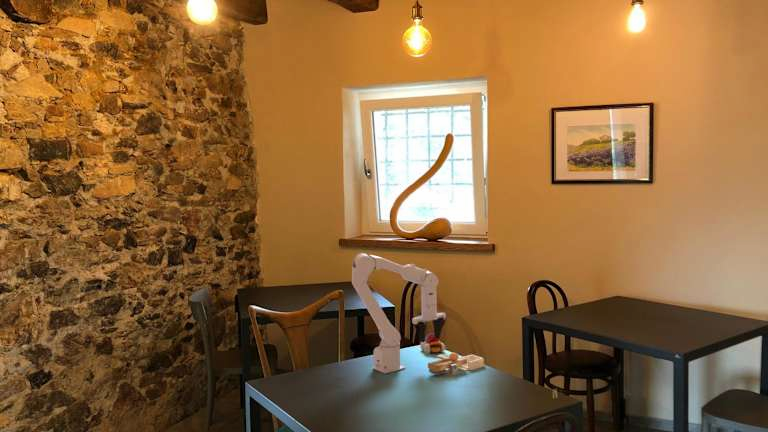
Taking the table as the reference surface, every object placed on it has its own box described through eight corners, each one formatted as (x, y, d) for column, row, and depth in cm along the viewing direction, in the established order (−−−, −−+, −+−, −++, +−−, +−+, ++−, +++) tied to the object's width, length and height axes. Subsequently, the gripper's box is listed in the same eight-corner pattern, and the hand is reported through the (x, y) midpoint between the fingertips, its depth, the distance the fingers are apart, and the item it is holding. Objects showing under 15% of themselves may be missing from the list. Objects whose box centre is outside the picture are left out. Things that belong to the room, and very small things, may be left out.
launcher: (437, 375, 215) (436, 365, 215) (415, 367, 225) (415, 357, 225) (466, 367, 223) (466, 358, 223) (444, 359, 233) (444, 350, 233)
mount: (450, 377, 216) (450, 366, 216) (434, 371, 223) (434, 360, 223) (461, 374, 219) (460, 363, 219) (445, 368, 226) (444, 358, 226)
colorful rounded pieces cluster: (426, 356, 243) (426, 337, 242) (418, 349, 252) (418, 332, 252) (447, 353, 245) (446, 335, 244) (438, 347, 254) (438, 330, 254)
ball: (453, 363, 221) (453, 354, 220) (447, 361, 223) (447, 352, 223) (460, 361, 222) (459, 352, 222) (454, 359, 225) (454, 350, 225)
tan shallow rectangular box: (465, 371, 222) (465, 363, 222) (453, 367, 227) (453, 359, 227) (484, 366, 227) (484, 358, 227) (472, 362, 233) (472, 354, 232)
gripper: (420, 308, 222) (421, 345, 223) (450, 302, 230) (451, 338, 231) (408, 305, 228) (409, 341, 229) (438, 300, 236) (439, 335, 237)
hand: (429, 340), depth 230 cm, fingers open, 7 cm apart
